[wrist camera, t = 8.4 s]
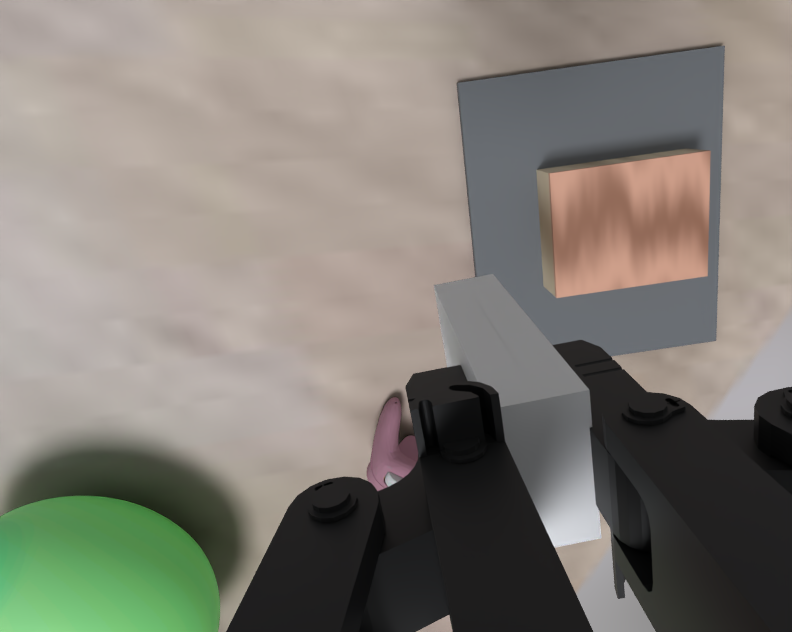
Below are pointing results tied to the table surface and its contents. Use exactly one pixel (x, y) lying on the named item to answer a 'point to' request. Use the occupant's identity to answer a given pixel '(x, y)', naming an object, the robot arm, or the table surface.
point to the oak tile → (624, 221)
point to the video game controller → (390, 449)
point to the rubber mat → (581, 143)
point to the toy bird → (102, 570)
